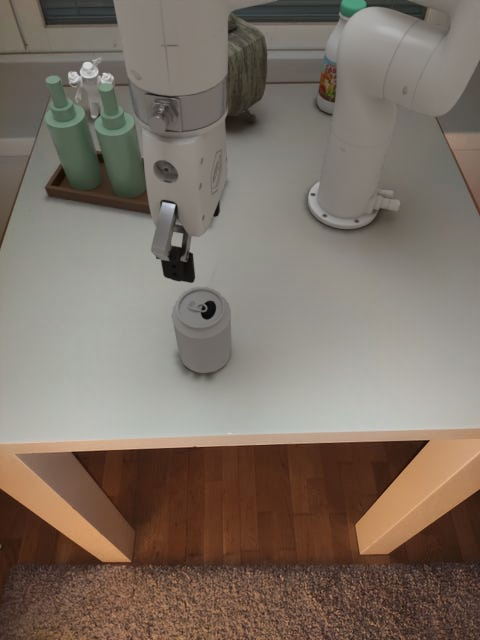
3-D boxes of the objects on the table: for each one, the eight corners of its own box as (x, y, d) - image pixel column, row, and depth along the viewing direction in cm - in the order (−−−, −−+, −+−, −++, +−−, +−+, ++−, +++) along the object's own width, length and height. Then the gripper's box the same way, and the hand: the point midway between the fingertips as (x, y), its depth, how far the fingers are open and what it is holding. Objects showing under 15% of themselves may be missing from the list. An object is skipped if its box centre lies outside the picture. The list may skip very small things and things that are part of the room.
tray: (223, 182, 88) (223, 170, 86) (207, 226, 82) (206, 215, 80) (75, 157, 92) (71, 146, 90) (49, 198, 86) (44, 187, 83)
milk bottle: (315, 94, 104) (331, -9, 87) (350, 95, 104) (373, -8, 87) (317, 115, 100) (334, 11, 83) (354, 116, 100) (378, 13, 83)
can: (225, 380, 66) (223, 336, 56) (173, 370, 67) (162, 325, 57) (236, 335, 70) (236, 286, 60) (187, 326, 71) (179, 277, 61)
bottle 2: (151, 177, 88) (133, 78, 72) (140, 201, 85) (118, 102, 69) (119, 172, 89) (93, 72, 73) (106, 195, 85) (76, 96, 69)
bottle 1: (108, 170, 89) (81, 70, 73) (95, 193, 85) (63, 94, 70) (76, 165, 90) (42, 65, 74) (62, 187, 86) (23, 88, 70)
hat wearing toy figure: (123, 112, 100) (111, 54, 90) (120, 124, 98) (106, 66, 88) (81, 110, 100) (64, 53, 90) (76, 122, 98) (58, 64, 88)
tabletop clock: (264, 121, 98) (272, -15, 77) (235, 142, 95) (236, 4, 74) (212, 94, 103) (207, -41, 82) (183, 113, 100) (170, -23, 79)
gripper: (194, 171, 32) (205, 315, 46) (250, 44, 41) (245, 196, 55) (89, 153, 32) (131, 300, 47) (168, 32, 42) (183, 185, 56)
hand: (193, 244), depth 51 cm, fingers open, 9 cm apart
